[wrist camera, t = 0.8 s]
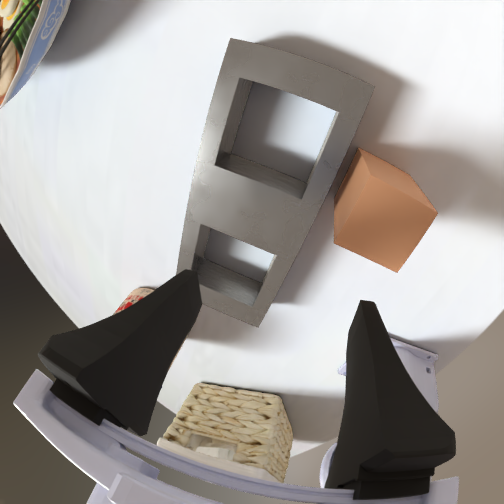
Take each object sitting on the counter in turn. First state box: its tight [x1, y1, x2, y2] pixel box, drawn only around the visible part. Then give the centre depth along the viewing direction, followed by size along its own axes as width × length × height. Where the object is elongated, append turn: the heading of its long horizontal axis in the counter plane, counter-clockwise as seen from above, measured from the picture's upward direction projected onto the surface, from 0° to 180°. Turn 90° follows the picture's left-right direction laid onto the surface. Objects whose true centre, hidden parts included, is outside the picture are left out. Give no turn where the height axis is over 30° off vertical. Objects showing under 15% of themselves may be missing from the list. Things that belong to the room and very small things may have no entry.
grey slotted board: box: [176, 38, 375, 327], centre depth 18 cm, size 20×8×3 cm, turn 163°
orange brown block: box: [334, 148, 438, 272], centre depth 14 cm, size 4×4×6 cm
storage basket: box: [157, 383, 293, 483], centre depth 37 cm, size 24×16×15 cm
